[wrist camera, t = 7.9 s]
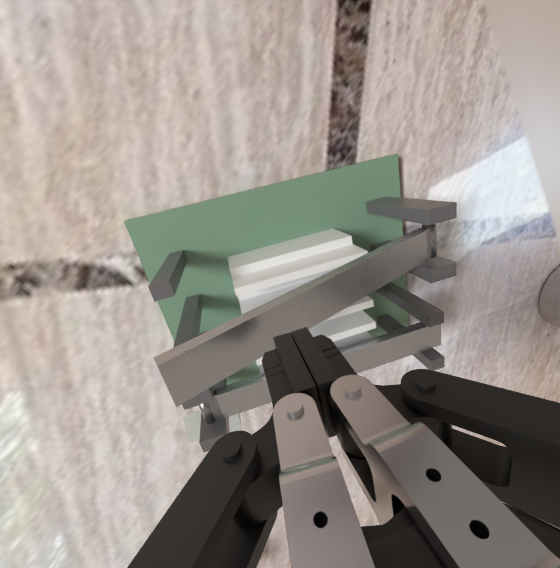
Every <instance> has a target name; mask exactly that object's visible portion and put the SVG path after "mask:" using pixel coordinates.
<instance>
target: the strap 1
mask: <svg viewBox="0 0 560 568" xmlns="http://www.w3.org/2000/svg"><path fill="white" fill-rule="evenodd" d="M435 257H437V239H436V224H432V225H426V224H423V225H422V228H419V229H417V230H414V231H412V232H410V233H408V234H406V235H404V236H402V237H400V238H398V239H396V240H393V241H391V242H389V243H387V244H385V245H383V246H381V247H379V248H377V249H375V250H373V251H371V252H369V253H367V254H365V255H363V256H361V257H359V258H357V259H355V260H353V261H350V262H348V263H346V264H344V265H342V266H340V267H338V268H336V269H334V270H332V271H330V272H328V273H326V274H324V275H322V276H320V277H318V278H316V279H314V280H312V281H310V282H308V283H305V284H303V285H301V286H299V287H297V288H295V289H293V290H291V291H289V292H287V293H285V294H283V295H281V296H279V297H277V298H275V299H273V300H271V301H269V302H267V303H265V304H262V305H260V306H258V307H256V308H254V309H252V310H250V311H248V312H246V313H244V314H242V315H240V316H238V317H236V318H234V319H232V320H230V321H228V322H226V323H224V324H222V325H219V326H217V327H215V328H213V329H211V330H209V331H207V332H205V333H203V334H201V335H199V336H197V337H195V338H193V339H191V340H189V341H187V342H185V343H183V344H181V345H179V346H176V347H174V348H172V349H170V350H168V351H166V352H164V353H162V354H160V355H158V356H156V357H154V360H155V362H156V364H157V366H158V368H159V371H160V373H161V375H162V377H163V379H164V381H165V384H166V386H167V388H168V390H169V392H170V394H171V397H172V399H173V401H174V403H175V405H176V407H178V406H179V405H181V404H183V403H184V402H186V401H188V400H189V399H191V398H193V397H195V396H196V395H198V394H200V393H201V392H203V391H205V390H207V389H208V388H210V387H212V386H213V385H215V384H217V383H219V382H220V381H222V380H224V379H225V378H227V377H229V376H230V375H232V374H234V373H236V372H237V371H239V370H241V369H242V368H244V367H246V366H248V365H249V364H251V363H253V362H254V361H256V360H258V359H259V358H261V357H263V355H264V353H265V352H268V351H271V350H274V349H276V348H275V344H274V340H273V337H276V336H279V335H282V334H285V333H290V332H292V331H295V330H298V329H301V328H305V327H307V328H308V330H309V329H311V328H312V327H314V326H316V325H318V324H319V323H321V322H323V321H324V320H326V319H328V318H329V317H331V316H333V315H335V314H336V313H338V312H340V311H341V310H343V309H345V308H347V307H348V306H350V305H352V304H353V303H355V302H357V301H359V300H360V299H362V298H364V297H365V296H367V295H369V294H370V293H372V292H374V291H376V290H377V289H379V288H381V287H382V286H384V285H386V284H388V283H389V282H391V281H393V280H394V279H396V278H398V277H399V276H401V275H403V274H405V273H406V272H408V271H410V270H411V269H413V268H415V267H417V266H418V265H420V264H422V263H423V262H425V261H427V259H429V258H435Z"/></svg>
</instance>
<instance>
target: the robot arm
mask: <svg viewBox="0 0 560 568" xmlns="http://www.w3.org/2000/svg"><path fill="white" fill-rule="evenodd" d="M539 309H540V313H541V315H542V317H543V318H544V319H545V320H546V321H548V322H551V323H553V324H555V325H558V326H560V266H559V267H558V268H557V269H556V270H555V271H554V272H553V273H552V274H551V275H550V277H549V278H548V279H547V281H546V283H545V285H544V287H543V289H542V292H541V295H540V299H539ZM273 340H274V344H275V348H276V349H274V350H271V351H268V352H265V353H264V355H263V358H262V365H263V369H264V373H265V377H266V380H267V384H268V388H269V392H270V396H271V400H272V403H273V413H272V416H271V418H270V420H269V421H268V422H267V424H266V425H265V426H263V427H262V428H261V429H260V430H258V431H257V432H255V433H254V434H252V435H251V434H250V433H248V432H245V431H233V432H230V433H227V434H225V435H224V436H222V437H221V438H220V439H218V440H217V441H216V442H215V444H214V445H213V446H212V448H211V449H210V451H209V452H208V453H207V455H206V456H205V458H204V459H203V461H202V462H201V463H200V465H199V466H198V468H197V469H196V471H195V472H194V473H193V475H192V476H191V478H190V479H189V480H188V482H187V483H186V485H185V486H184V488H183V489H182V490H181V492H180V493H179V495H178V496H177V498H176V499H175V500H174V502H173V503H172V505H171V506H170V508H169V509H168V510H167V512H166V513H165V515H164V516H163V518H162V519H161V520H160V522H159V523H158V525H157V526H156V528H155V529H154V530H153V532H152V533H151V535H150V536H149V538H148V539H147V540H146V542H145V543H144V545H143V546H142V547H141V549H140V550H139V552H138V553H137V555H136V556H135V557H134V559H133V560H132V562H131V563H130V565H129V566H128V567H127V568H256V567H257V564H258V562H259V559H260V557H261V555H262V552H263V550H264V547H265V545H266V542H267V540H268V537H269V535H270V532H271V530H272V528H273V525H274V523H275V520H276V517H277V511H278V509H279V508H280V507H282V506H283V510H284V518H285V525H286V532H287V539H288V547H289V554H290V561H291V568H560V529H558V528H556V527H559V528H560V403H557V402H554V401H550V400H546V399H542V398H538V397H534V396H530V395H526V394H522V393H518V392H514V391H510V390H507V389H503V388H499V387H495V386H491V385H487V384H483V383H479V382H475V381H471V380H467V379H464V378H460V377H456V376H452V375H448V374H444V373H440V372H436V371H432V370H427V369H416V370H412V371H409V372H407V373H406V374H405V375H404V376H403V377H402V379H401V384H399V385H385V386H381V385H374V384H372V382H371V381H369V380H368V379H367V378H365V377H363V376H359V375H357V373H356V372H355V371H354V369H353V368H352V367H351V365H350V364H349V363H348V361H347V360H346V359H345V357H344V356H343V355H342V354H341V352H340V351H339V349H338V348H337V347H336V345H335V344H334V342H333V341H332V340H331V339H330V338H328V337H326V336H324V335H322V334H321V335H318V336H315V337H313V336H312V334H311V333H310V331H309V330H308V328H307V327H305V328H301V329H298V330H295V331H292V332H290V333H285V334H282V335H279V336H276V337H273ZM452 425H454V426H457V427H460V428H463V429H466V430H468V431H471V432H474V433H477V434H480V435H483V436H485V437H488V438H491V439H494V440H497V441H499V442H501V443H503V444H504V445H506V446H507V447H503V446H499V445H496V444H494V443H491V442H488V441H485V440H483V439H480V438H477V437H474V436H471V435H469V434H466V433H463V432H460V431H458V430H455V429H452ZM326 432H327V434H328V436H329V438H330V437H333V436H335V435H337V437H338V439H339V441H340V444H341V449H342V453H343V456H344V458H345V460H346V462H347V464H348V465H349V467H350V469H351V471H352V472H353V474H354V476H355V478H356V480H357V481H358V483H359V485H360V487H361V488H362V490H363V492H364V494H365V495H366V497H367V499H368V501H369V502H370V504H371V506H372V508H373V510H374V512H375V514H376V516H377V518H378V521H379V524H380V525H376V526H363V527H361V526H360V523H359V521H358V518H357V515H356V512H355V509H354V506H353V503H352V501H351V498H350V495H349V492H348V489H347V486H346V484H345V481H344V478H343V475H342V472H341V469H340V466H339V464H338V461H337V459H336V457H335V456H334V455H333V453H332V450H331V447H330V444H329V441H328V438H327V434H326ZM501 501H502V502H504V503H502V502H501ZM505 503H506V504H505ZM507 504H509V505H507ZM510 505H511V506H510ZM521 510H522V511H521ZM523 511H524V512H523ZM532 515H533V516H532ZM534 516H535V517H534ZM536 517H537V518H536ZM538 518H539V519H538ZM540 519H541V520H540ZM542 520H543V521H542ZM544 521H546V522H548V523H550V524H552V525H554V526H556V527H554V526H552V525H550V524H548V523H546V522H544Z"/></svg>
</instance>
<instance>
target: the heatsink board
mask: <svg viewBox="0 0 560 568" xmlns="http://www.w3.org/2000/svg"><path fill="white" fill-rule="evenodd" d="M456 206H457V203H455V202H443V201H432V200H420V199H408V198H401V196H400V180H399V165H398V154H393V155H389V156H384V157H380V158H376V159H372V160H368V161H364V162H360V163H356V164H352V165H348V166H344V167H340V168H336V169H332V170H328V171H324V172H319V173H315V174H311V175H307V176H303V177H299V178H295V179H291V180H287V181H283V182H279V183H275V184H271V185H267V186H263V187H259V188H254V189H250V190H246V191H242V192H238V193H234V194H230V195H226V196H222V197H218V198H214V199H210V200H206V201H202V202H198V203H194V204H189V205H185V206H181V207H177V208H173V209H169V210H165V211H161V212H157V213H153V214H149V215H145V216H141V217H137V218H133V219H129V220H126V221H124V222H125V225H126V227H127V230H128V232H129V234H130V237H131V239H132V241H133V244H134V246H135V249H136V251H137V253H138V256H139V258H140V261H141V263H142V265H143V268H144V270H145V272H146V275H147V277H148V280H149V282H150V284H149V286H148V287H149V289H150V292H151V294H152V297H153V299H154V301H158V304H159V306H160V308H161V311H162V313H163V315H164V318H165V320H166V323H167V325H168V327H169V330H170V332H171V335H172V337H173V339H174V347H176V346H179V345H181V344H183V343H185V342H187V341H189V340H191V339H193V338H195V337H197V336H199V335H201V334H203V333H205V332H207V331H209V330H211V329H213V328H215V327H217V326H219V325H222V324H224V323H226V322H228V321H230V320H232V319H234V318H236V317H238V316H240V315H242V314H244V313H246V312H248V311H250V310H252V309H254V308H256V307H258V306H260V305H262V304H265V303H267V302H269V301H271V300H273V299H275V298H277V297H279V296H281V295H283V294H285V293H287V292H289V291H291V290H293V289H295V288H297V287H299V286H301V285H303V284H305V283H308V282H310V281H312V280H314V279H316V278H318V277H320V276H322V275H324V274H326V273H328V272H330V271H332V270H334V269H336V268H338V267H340V266H342V265H344V264H346V263H348V262H350V261H353V260H355V259H357V258H359V257H361V256H363V255H365V254H367V253H369V252H371V251H373V250H375V249H377V248H379V247H381V246H383V245H385V244H387V243H389V242H391V241H393V240H396V239H398V238H400V237H402V236H403V226H402V220H406V221H411V222H416V223H421V224H426V225H432V224H436V223H439V222H443V221H447V220H450V219H454V218H456ZM408 272H409V273H411V274H413V275H415V276H417V277H420V278H422V279H424V280H426V281H428V282H430V283H433V282H436V281H440V280H443V279H446V278H449V277H453V276H456V262H453V261H450V260H447V259H444V258H441V257H439V256H437V257H435V258H429V259H427V261H425V262H423V263H422V264H420V265H418V266H417V267H415V268H413V269H411V270H410V271H408ZM408 313H409V314H411V315H412V316H414V317H415V318H416V319H418V320H419V321H421V322H422V323H424V324H425V325H427V326H428V327H433V326H436V325H439V324H442V323H444V312H443V311H441V310H440V309H438V308H436V307H434V306H433V305H431V304H429V303H427V302H426V301H424V300H422V299H420V298H419V297H417V296H415V295H413V294H412V293H410V292H408V291H407V288H406V273H405V274H403V275H401V276H399V277H398V278H396V279H394V280H393V281H391V282H389V283H388V284H386V285H384V286H382V287H381V288H379V289H377V290H376V291H374V292H372V293H370V294H369V295H367V296H365V297H364V298H362V299H360V300H359V301H357V302H355V303H353V304H352V305H350V306H348V307H347V308H345V309H343V310H341V311H340V312H338V313H336V314H335V315H333V316H331V317H329V318H328V319H326V320H324V321H323V322H321V323H319V324H318V325H316V326H314V327H312V328H311V329H309V331H310V333H311V334H312V336H313V337H315V336H318V335H321V334H322V335H324V336H326V337H328V338H330V339H331V340H332V341H333V342H334V344H335V345H336V347H337V348H338V349H340V348H343V347H346V346H349V345H352V344H355V343H358V342H361V341H364V340H367V339H370V338H374V337H377V336H380V335H383V334H386V333H389V332H392V331H395V330H398V329H401V328H404V327H407V326H409V319H408ZM413 356H414V357H416V358H417V359H418V360H419V361H420V362H421V363H422V364H424V365H425V366H426V367H427V368H428V369H429V370H432V371H433V370H436V369H439V368H442V367H444V356H442V355H441V354H440V353H439V352H437V351H436V350H435V349H433V348H431V349H428V350H425V351H422V352H419V353H416V354H413ZM262 358H263V357H261V358H259V359H258V360H256V361H254V362H253V363H251V364H249V365H248V366H246V367H244V368H242V369H241V370H239V371H237V372H236V373H234V374H232V375H230V376H229V377H227V378H225V379H224V380H222V381H220V382H219V383H217V384H215V385H213V386H212V387H210V388H208V389H207V390H205V391H203V392H201V393H200V394H198V395H196V396H195V397H193V398H191V399H189V400H188V401H186V402H184V403H183V404H182V405H183V407H184V409H188V408H191V407H194V406H197V405H200V404H203V403H206V402H209V401H212V400H213V390H215V389H216V388H219V387H222V386H225V385H229V384H232V383H235V382H238V381H241V380H244V379H247V378H250V377H253V376H256V375H259V374H263V373H264V369H263V365H262ZM227 433H230V431H229V417H226V418H224V417H223V418H220V419H217V420H216V421H215V422H214V423H213V424H207V423H206V422H205V419H204V417H203V414H202V412H201V425H200V442H199V443H200V445H201V447H202V449H203V452H206V451H209V450H210V449H211V448H212V446H213V445H214V444H215V442H216V441H217V440H218V439H220V438H221V437H222V436H224V435H225V434H227Z"/></svg>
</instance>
